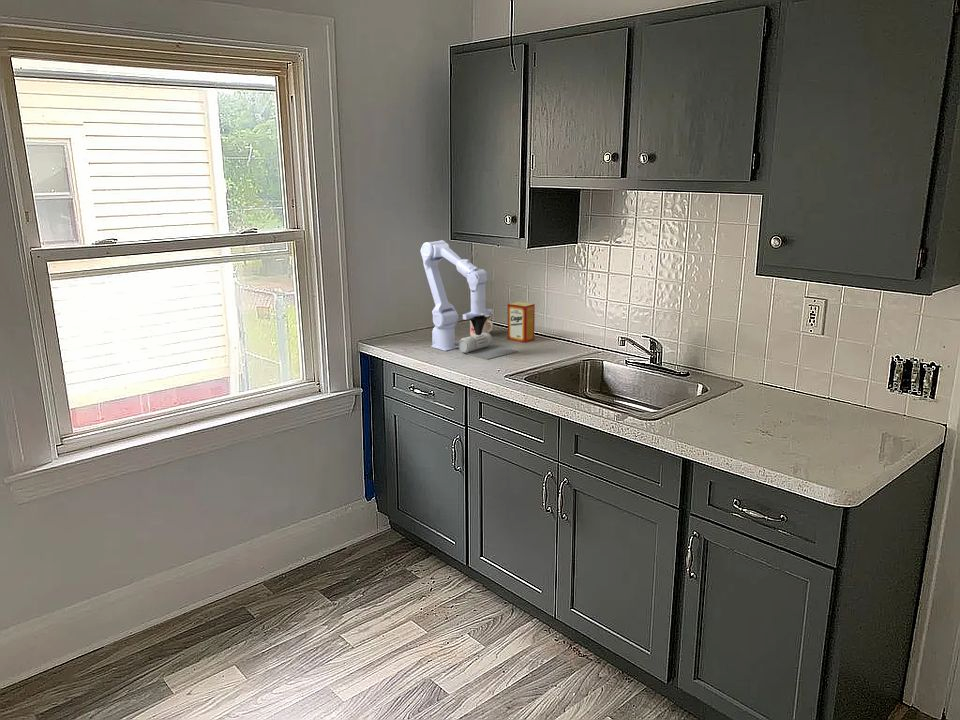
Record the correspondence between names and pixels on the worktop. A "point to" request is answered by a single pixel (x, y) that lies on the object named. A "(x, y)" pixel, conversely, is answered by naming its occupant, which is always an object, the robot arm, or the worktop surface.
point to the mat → (491, 352)
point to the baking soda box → (521, 321)
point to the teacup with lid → (485, 328)
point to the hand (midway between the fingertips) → (478, 334)
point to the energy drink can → (475, 342)
